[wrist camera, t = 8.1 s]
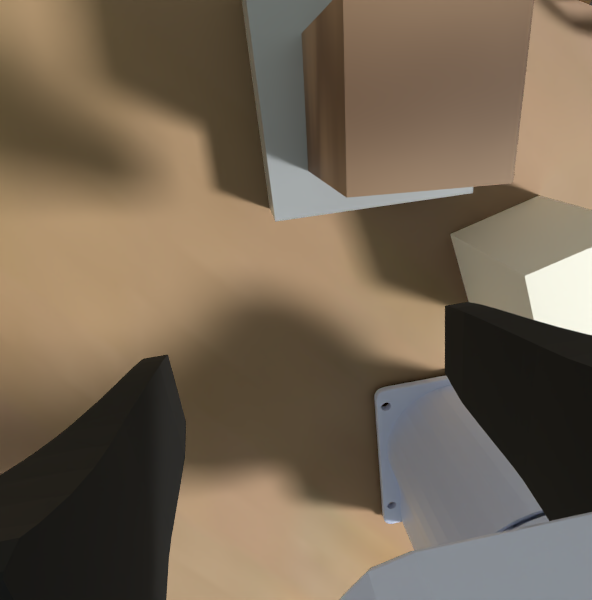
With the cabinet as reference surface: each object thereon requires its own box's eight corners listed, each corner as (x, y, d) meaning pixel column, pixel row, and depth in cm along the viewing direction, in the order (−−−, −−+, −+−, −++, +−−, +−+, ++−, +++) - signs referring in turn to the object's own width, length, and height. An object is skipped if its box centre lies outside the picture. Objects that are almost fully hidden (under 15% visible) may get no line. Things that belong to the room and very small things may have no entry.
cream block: (553, 277, 24) (652, 328, 18) (471, 312, 24) (545, 374, 18) (538, 195, 22) (644, 224, 16) (449, 233, 22) (524, 275, 16)
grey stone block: (441, 182, 21) (473, 192, 19) (268, 206, 21) (275, 221, 18) (443, -25, 18) (482, -49, 15) (240, -5, 18) (242, -26, 15)
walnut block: (423, 161, 18) (512, 183, 12) (308, 171, 17) (346, 197, 12) (429, 27, 16) (536, -19, 11) (301, 33, 16) (342, -11, 10)
